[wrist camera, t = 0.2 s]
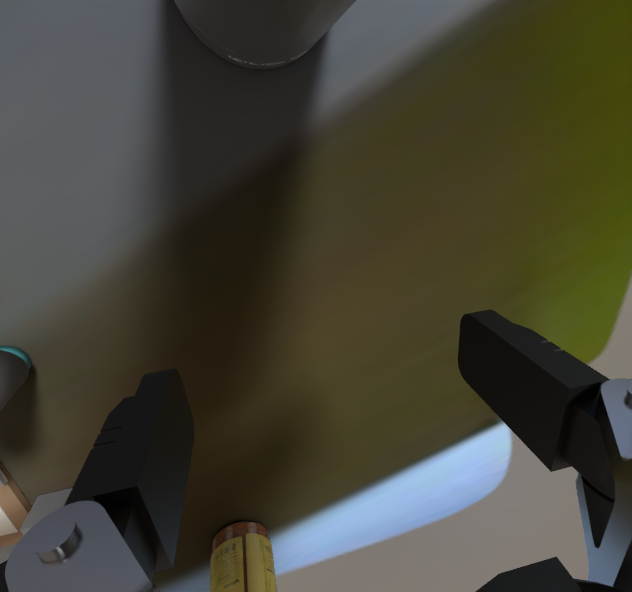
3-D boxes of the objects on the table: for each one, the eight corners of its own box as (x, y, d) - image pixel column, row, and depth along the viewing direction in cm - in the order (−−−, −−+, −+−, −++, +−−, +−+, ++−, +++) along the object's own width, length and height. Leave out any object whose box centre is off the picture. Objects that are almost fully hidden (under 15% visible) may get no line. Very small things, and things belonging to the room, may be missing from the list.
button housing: (38, 495, 31) (19, 529, 29) (122, 476, 32) (112, 508, 30) (69, 543, 34) (55, 578, 32) (146, 524, 35) (138, 557, 33)
